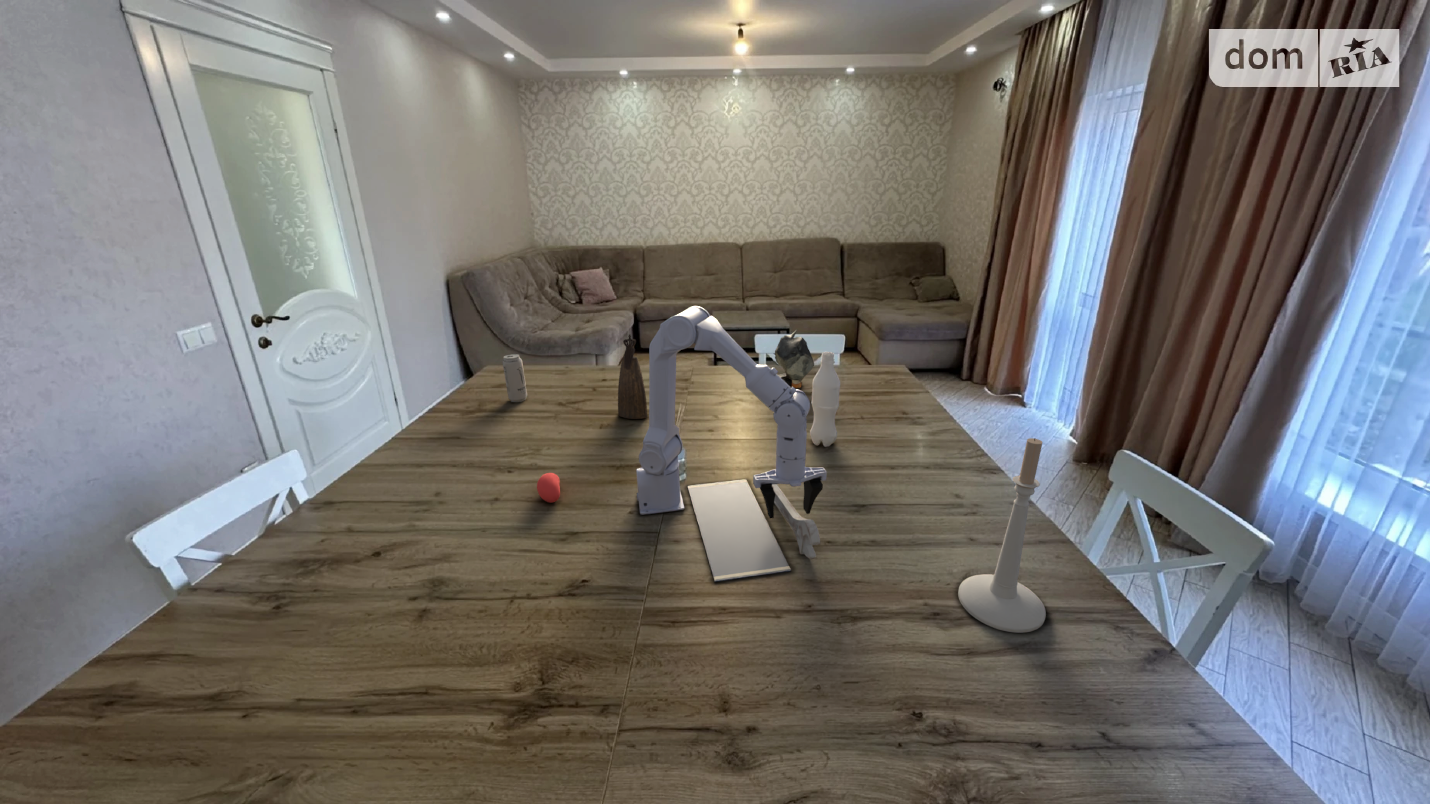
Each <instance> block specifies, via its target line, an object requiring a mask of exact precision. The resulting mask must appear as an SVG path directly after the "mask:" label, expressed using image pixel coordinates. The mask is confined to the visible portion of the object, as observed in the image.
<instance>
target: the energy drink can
mask: <svg viewBox="0 0 1430 804" xmlns="http://www.w3.org/2000/svg"><path fill="white" fill-rule="evenodd" d="M502 368H503V374H504V380H505V387H506V392H507V397H508V400H510V402H511V403H522V402H524V401H526V400H527V398H528V390H527V384H526V377H525V370H524V364H523V360H522V358H521V356H520V354H516V353H511V354H510V353H509V354H505V355H504V356H503V360H502Z"/></svg>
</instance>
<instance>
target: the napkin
mask: <svg viewBox="0 0 1430 804" xmlns="http://www.w3.org/2000/svg"><path fill="white" fill-rule="evenodd" d="M687 490H688V495H689V497H690V500H691V504H692V507H693V510H694V514H695V518H696V521H697V525H698V528H699V533H700V536H701V538H702V543H703V545H704V549H705V552H706V553H705V554H706V556H707V560H708V562H709V566H710V570H711V573H712V578H713V581H714V583H717V582H726V581H732V580H739V579H747V578H753V577H762V576H769V575H774V574H781V573H789V572H792V568H791V567H790V566H789V563H788V562H787V558H786V557H785V555H784V552H783V551H782V549H781V547H780V545H779V543H778V540H777V539H776V537H775V535H774V533H773V530H772V528H771V527H770V525H769V522H768V520H767V518H766V517H765V515H764V512H763V511H762V508H761V507H760V505H759V503H758V501H757V498H756V496H755V495H754V493H753V491H752V489H751V486H750V485H749V482H748V481H747V478H745V479H735V480H727V481H717V482H709V483H700V484H699V483H698V484H691V485H687Z"/></svg>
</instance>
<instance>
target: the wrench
mask: <svg viewBox="0 0 1430 804" xmlns="http://www.w3.org/2000/svg"><path fill="white" fill-rule="evenodd" d="M772 486H773V490H774V492H775V493H776V495H775V500H774V506H776V507H777V509H778V511H779V512H780V514H781V515H782V516H783V518H784V519H785V521H786V522H787V524H788V525H789V526H790V528H791V530H792V531H793V534H794V536H795V539H796V542H797V545H798V550H799V554H800V555H805V557H807V558H808V559H810V560H814V559H816V557H817V554H816V551H815V548H814V547H813V546H817V545H821V536H820V531H819V529H818V526H817V524H816V523H815V520H813V518H805V517H803V516H801V515H800V513H799V512H798V511H797V510H796V507H794V506H793V504H792V503H791V501H790V500H789V498H788V497H787V496H786V495H785V493H784V491H782V489H781V488H780V486H779V484H773V485H772Z"/></svg>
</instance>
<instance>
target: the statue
mask: <svg viewBox="0 0 1430 804" xmlns="http://www.w3.org/2000/svg"><path fill="white" fill-rule="evenodd" d="M627 336H628V338H626V339H623V340H622V342H623V345H624V346H625V350H624V356H622V358H621V359H622V360H621V364H620V368H619V375H618V388H617V413H618V414H617V415H618V416H619V417H621V418H624V419H627V420H640V419H642V420H643V419H646V418H648V404H647V395H646V387H645V382H644V378H643V373H642V369H641V366H640V362H639V360H638V359H639V358H638V357H637V356H635V352H636V349H635V346H636V344H637V339H635V338H632V335H631V334H628V335H627Z"/></svg>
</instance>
